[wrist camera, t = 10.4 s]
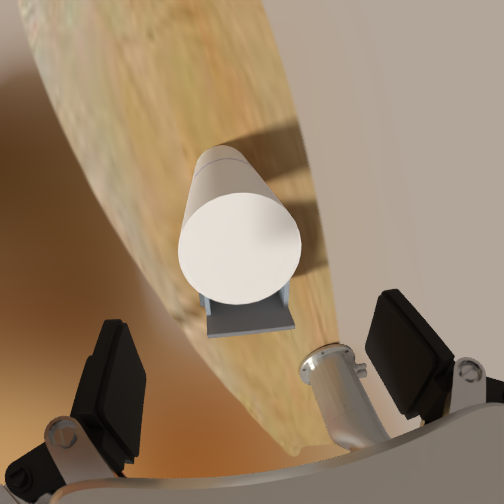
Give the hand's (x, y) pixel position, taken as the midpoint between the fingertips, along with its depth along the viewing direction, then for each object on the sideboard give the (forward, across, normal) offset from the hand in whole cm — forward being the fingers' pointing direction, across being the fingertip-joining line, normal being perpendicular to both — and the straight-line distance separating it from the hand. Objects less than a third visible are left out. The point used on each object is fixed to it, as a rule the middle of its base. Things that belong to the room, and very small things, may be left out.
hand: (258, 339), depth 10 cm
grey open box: (+32, -2, +13) cm, 35 cm away
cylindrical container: (+33, 0, +1) cm, 33 cm away
